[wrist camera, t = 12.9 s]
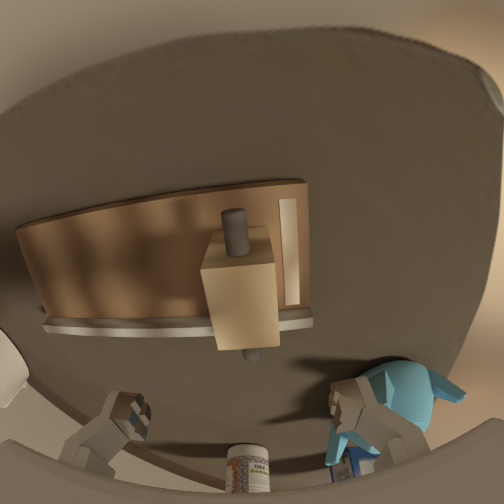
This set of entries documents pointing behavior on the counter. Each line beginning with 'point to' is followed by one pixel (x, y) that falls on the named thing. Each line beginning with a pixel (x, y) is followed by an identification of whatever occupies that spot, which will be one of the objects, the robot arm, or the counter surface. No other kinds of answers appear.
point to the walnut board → (161, 260)
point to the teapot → (398, 399)
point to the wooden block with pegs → (241, 286)
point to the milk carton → (353, 464)
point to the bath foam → (247, 469)
